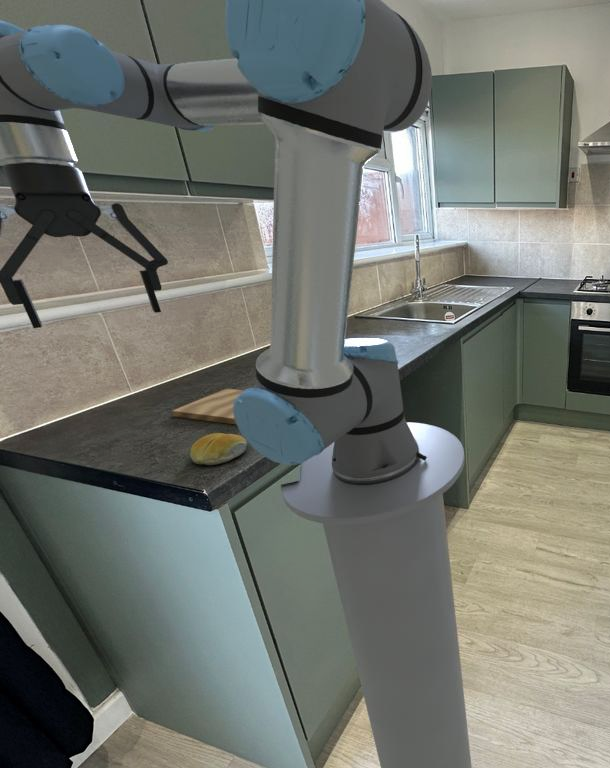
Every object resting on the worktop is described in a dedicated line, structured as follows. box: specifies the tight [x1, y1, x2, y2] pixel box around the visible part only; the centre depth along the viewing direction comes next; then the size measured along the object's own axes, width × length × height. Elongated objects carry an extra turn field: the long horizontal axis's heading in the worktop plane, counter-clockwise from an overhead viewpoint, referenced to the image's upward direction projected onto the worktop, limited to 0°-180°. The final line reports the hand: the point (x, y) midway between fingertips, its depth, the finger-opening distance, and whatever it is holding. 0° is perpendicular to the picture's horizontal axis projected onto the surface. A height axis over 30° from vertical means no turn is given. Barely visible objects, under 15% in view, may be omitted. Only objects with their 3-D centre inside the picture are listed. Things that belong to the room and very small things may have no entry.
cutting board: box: [171, 388, 245, 426], centre depth 99 cm, size 20×14×2 cm
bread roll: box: [189, 432, 248, 466], centre depth 78 cm, size 8×9×4 cm
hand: (101, 318), depth 64 cm, fingers open, 13 cm apart
